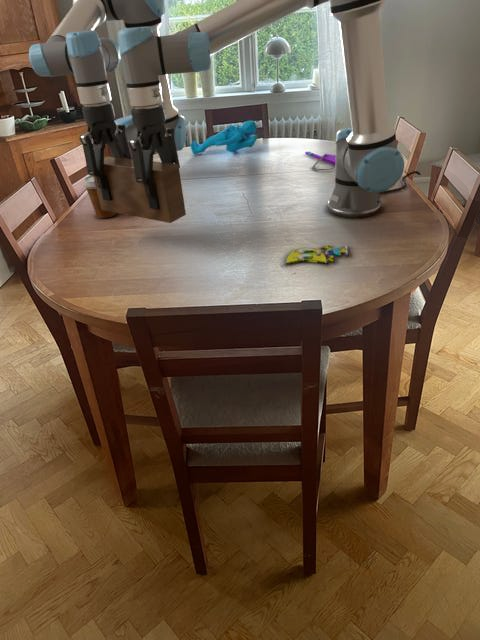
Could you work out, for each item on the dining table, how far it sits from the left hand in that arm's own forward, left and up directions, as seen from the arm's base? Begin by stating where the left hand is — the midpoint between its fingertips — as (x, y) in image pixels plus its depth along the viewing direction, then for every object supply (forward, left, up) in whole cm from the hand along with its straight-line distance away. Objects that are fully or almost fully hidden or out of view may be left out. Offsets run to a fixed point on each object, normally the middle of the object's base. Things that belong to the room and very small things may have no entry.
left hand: (117, 195), depth 130 cm
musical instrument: (-26, +84, -13) cm, 89 cm away
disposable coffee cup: (-23, -1, -13) cm, 26 cm away
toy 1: (-69, +62, -13) cm, 94 cm away
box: (+7, +4, -4) cm, 9 cm away
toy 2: (+41, +37, -13) cm, 57 cm away
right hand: (+15, +9, 0) cm, 17 cm away
